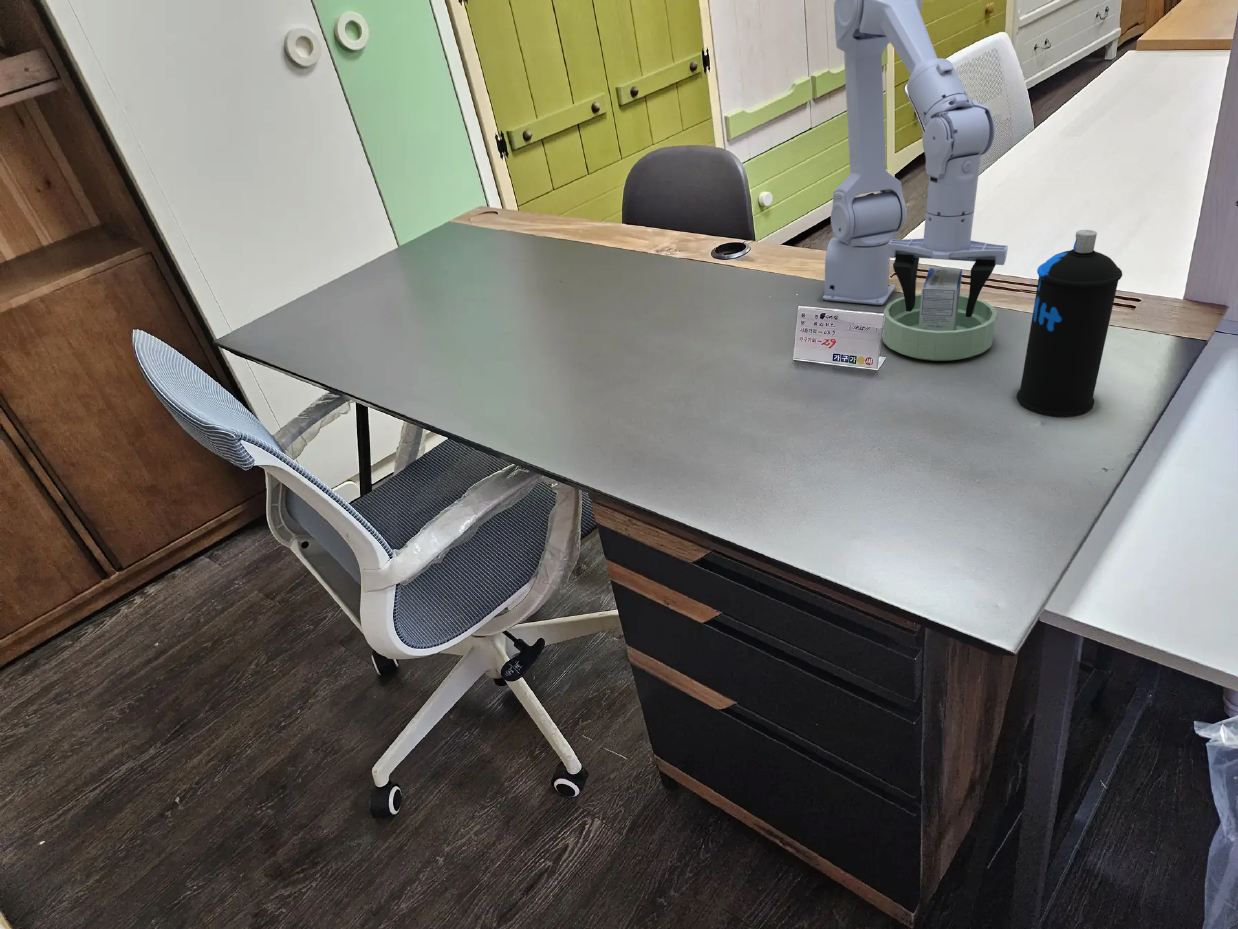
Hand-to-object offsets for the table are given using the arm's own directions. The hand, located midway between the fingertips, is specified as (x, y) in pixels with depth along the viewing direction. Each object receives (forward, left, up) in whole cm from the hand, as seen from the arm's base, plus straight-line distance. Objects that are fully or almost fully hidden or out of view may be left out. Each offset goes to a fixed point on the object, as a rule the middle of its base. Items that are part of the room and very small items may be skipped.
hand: (939, 311), depth 114 cm
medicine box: (0, 0, -4) cm, 4 cm away
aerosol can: (+16, -13, -5) cm, 21 cm away
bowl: (0, 0, -4) cm, 4 cm away
